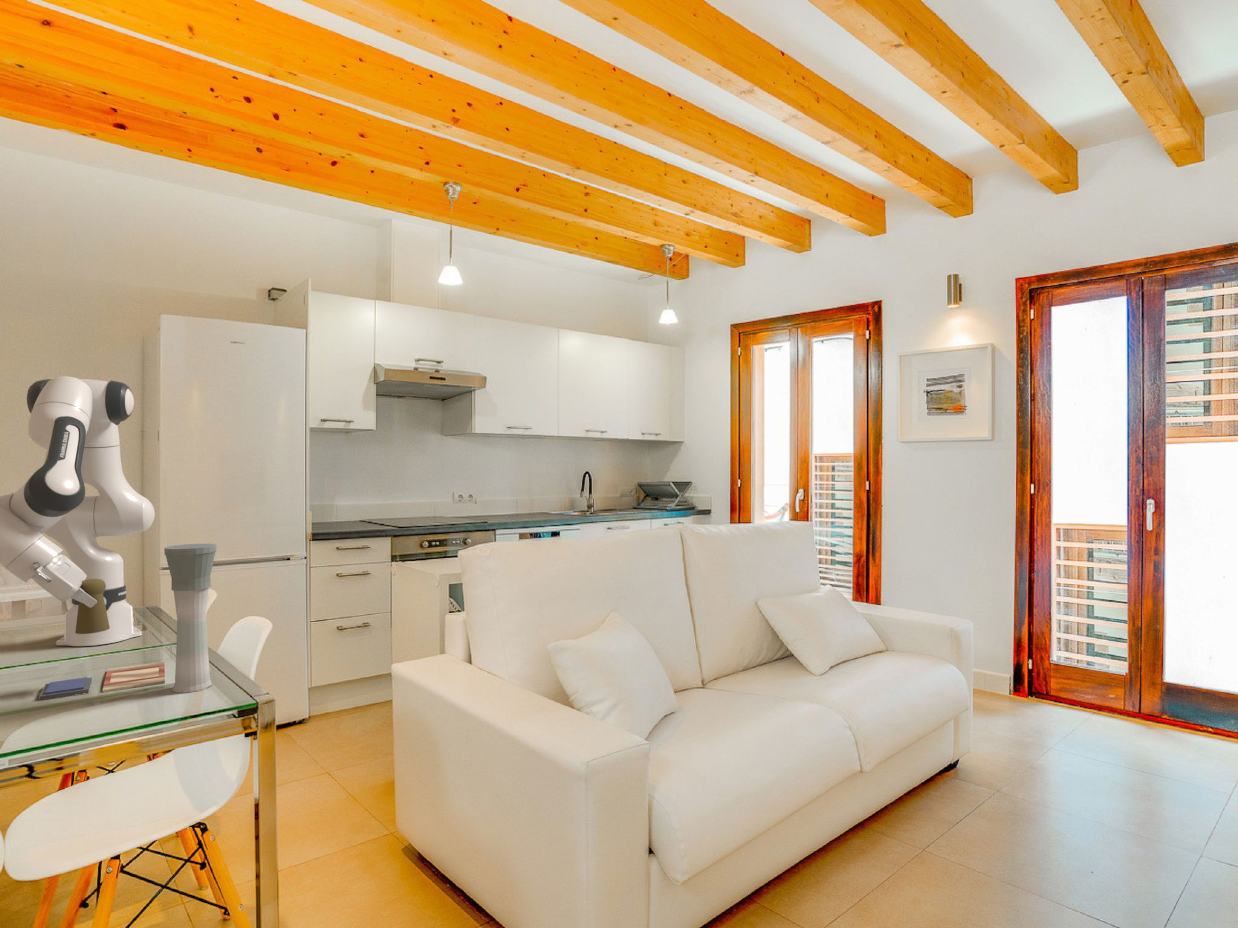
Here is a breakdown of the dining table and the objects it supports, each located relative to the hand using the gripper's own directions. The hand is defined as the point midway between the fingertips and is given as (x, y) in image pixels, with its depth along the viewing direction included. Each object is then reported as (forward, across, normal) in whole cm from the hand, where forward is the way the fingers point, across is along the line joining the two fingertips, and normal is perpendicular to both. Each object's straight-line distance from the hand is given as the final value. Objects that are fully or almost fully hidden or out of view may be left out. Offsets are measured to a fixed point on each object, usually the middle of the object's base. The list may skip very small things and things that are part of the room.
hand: (95, 602), depth 156 cm
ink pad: (+9, -2, +16) cm, 18 cm away
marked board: (+17, +1, +8) cm, 19 cm away
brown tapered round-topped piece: (+4, 0, +5) cm, 6 cm away
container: (+25, -14, 0) cm, 29 cm away
